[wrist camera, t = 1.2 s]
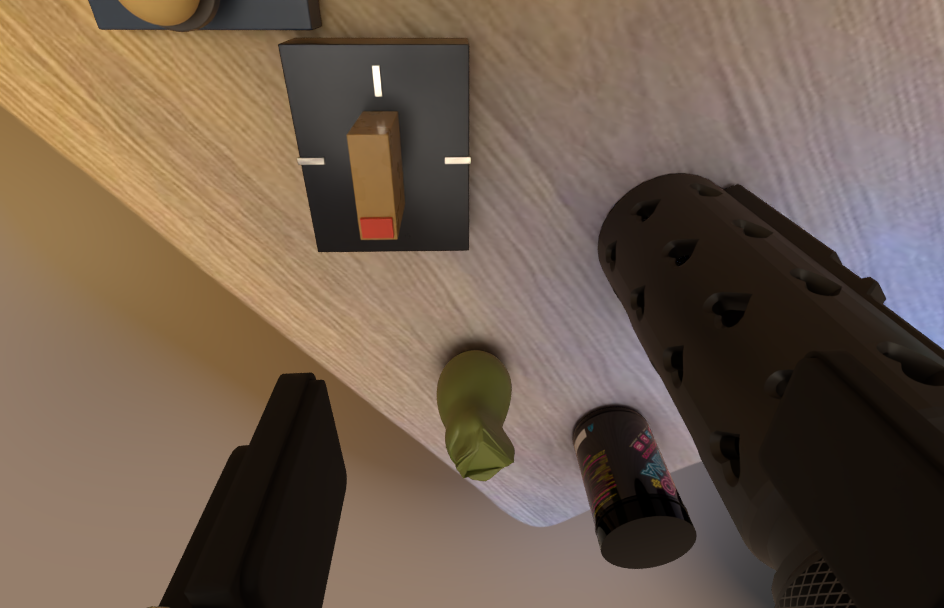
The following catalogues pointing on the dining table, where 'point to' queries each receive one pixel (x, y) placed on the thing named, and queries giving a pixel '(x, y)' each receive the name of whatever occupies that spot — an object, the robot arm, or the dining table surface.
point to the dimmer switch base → (420, 124)
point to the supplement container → (630, 491)
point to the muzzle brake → (752, 343)
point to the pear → (476, 413)
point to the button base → (222, 16)
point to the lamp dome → (174, 12)
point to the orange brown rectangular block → (377, 174)
